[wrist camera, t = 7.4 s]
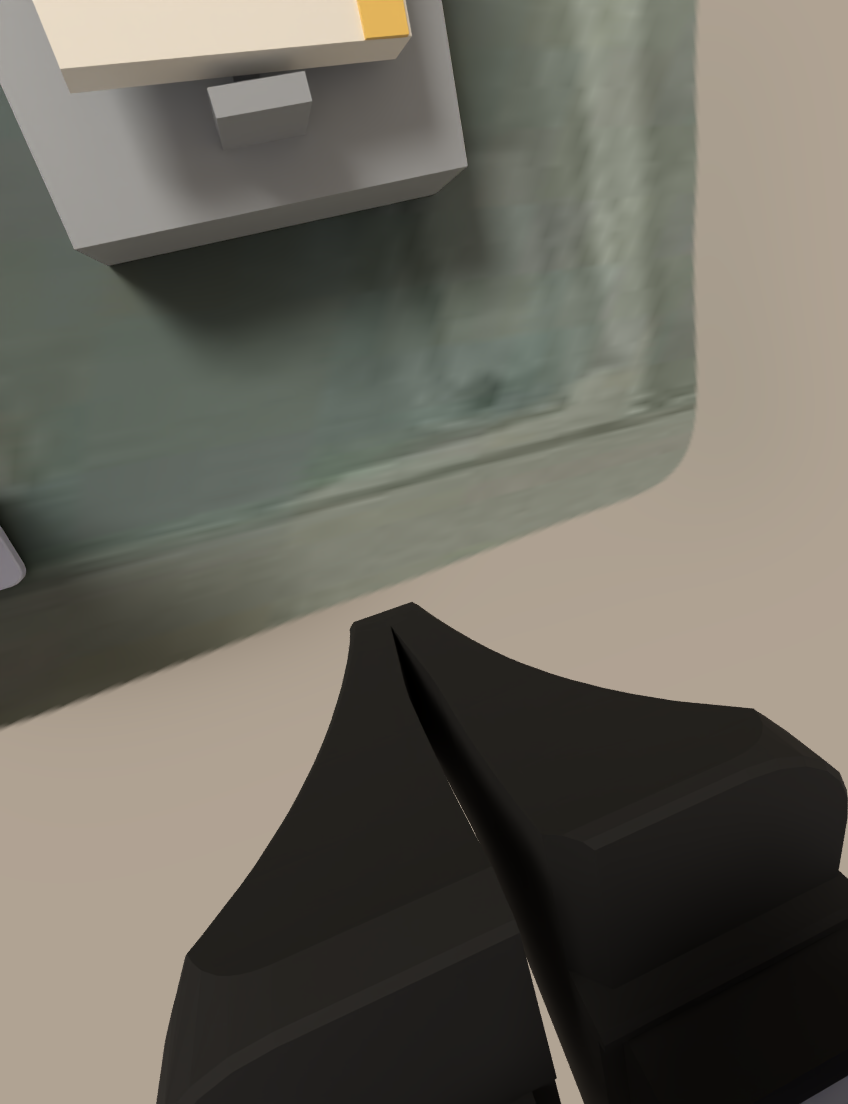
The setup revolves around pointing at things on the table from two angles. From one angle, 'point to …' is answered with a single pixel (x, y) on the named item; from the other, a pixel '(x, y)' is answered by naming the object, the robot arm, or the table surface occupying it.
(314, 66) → the block
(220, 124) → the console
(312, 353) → the table surface
